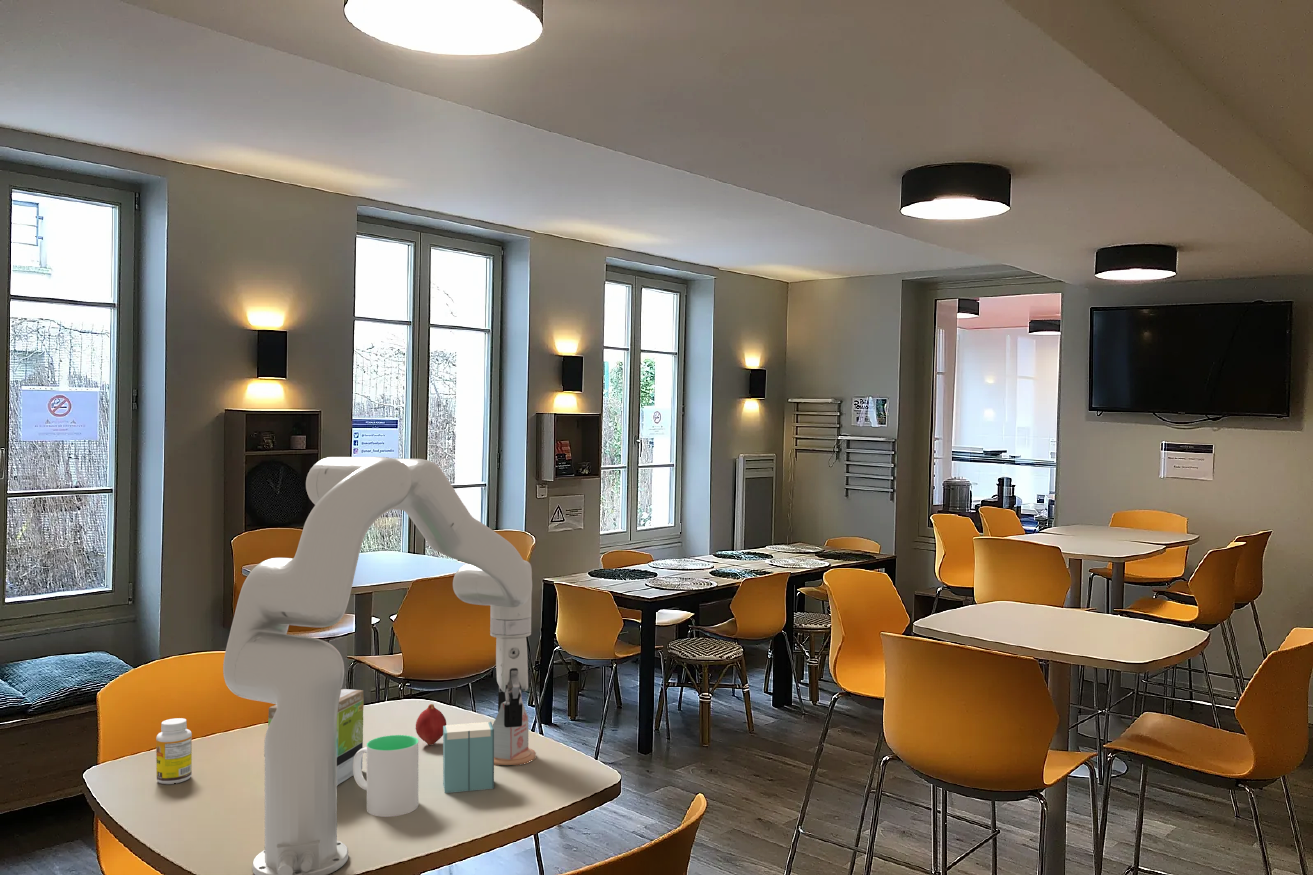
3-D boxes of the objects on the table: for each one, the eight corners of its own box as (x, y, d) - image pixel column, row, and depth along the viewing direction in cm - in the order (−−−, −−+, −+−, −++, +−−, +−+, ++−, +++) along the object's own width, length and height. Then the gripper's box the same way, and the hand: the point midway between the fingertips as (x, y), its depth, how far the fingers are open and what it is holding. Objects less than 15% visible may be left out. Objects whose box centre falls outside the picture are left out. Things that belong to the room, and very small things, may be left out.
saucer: (539, 763, 181) (539, 758, 181) (489, 767, 179) (489, 762, 179) (532, 748, 190) (532, 743, 190) (484, 752, 188) (484, 747, 188)
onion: (413, 742, 194) (412, 701, 194) (442, 738, 196) (442, 698, 196) (419, 751, 188) (419, 709, 188) (449, 747, 191) (449, 705, 191)
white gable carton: (492, 757, 182) (492, 702, 182) (511, 746, 188) (511, 693, 188) (510, 759, 180) (510, 704, 180) (528, 748, 187) (528, 695, 187)
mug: (336, 808, 160) (336, 743, 160) (369, 791, 167) (369, 730, 167) (397, 819, 155) (397, 753, 155) (428, 802, 162) (428, 738, 162)
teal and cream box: (494, 788, 168) (493, 729, 168) (444, 793, 166) (444, 732, 166) (491, 779, 173) (491, 721, 173) (443, 784, 171) (443, 725, 171)
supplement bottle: (159, 776, 175) (159, 718, 175) (194, 773, 176) (193, 715, 176) (153, 786, 169) (153, 726, 169) (189, 783, 171) (189, 724, 171)
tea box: (320, 800, 163) (320, 710, 163) (265, 796, 165) (264, 707, 165) (364, 770, 178) (364, 687, 178) (313, 766, 180) (313, 684, 180)
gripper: (537, 634, 177) (536, 731, 177) (524, 618, 194) (523, 706, 193) (495, 636, 175) (494, 733, 175) (485, 620, 192) (484, 709, 191)
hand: (509, 719), depth 184 cm, fingers open, 9 cm apart
